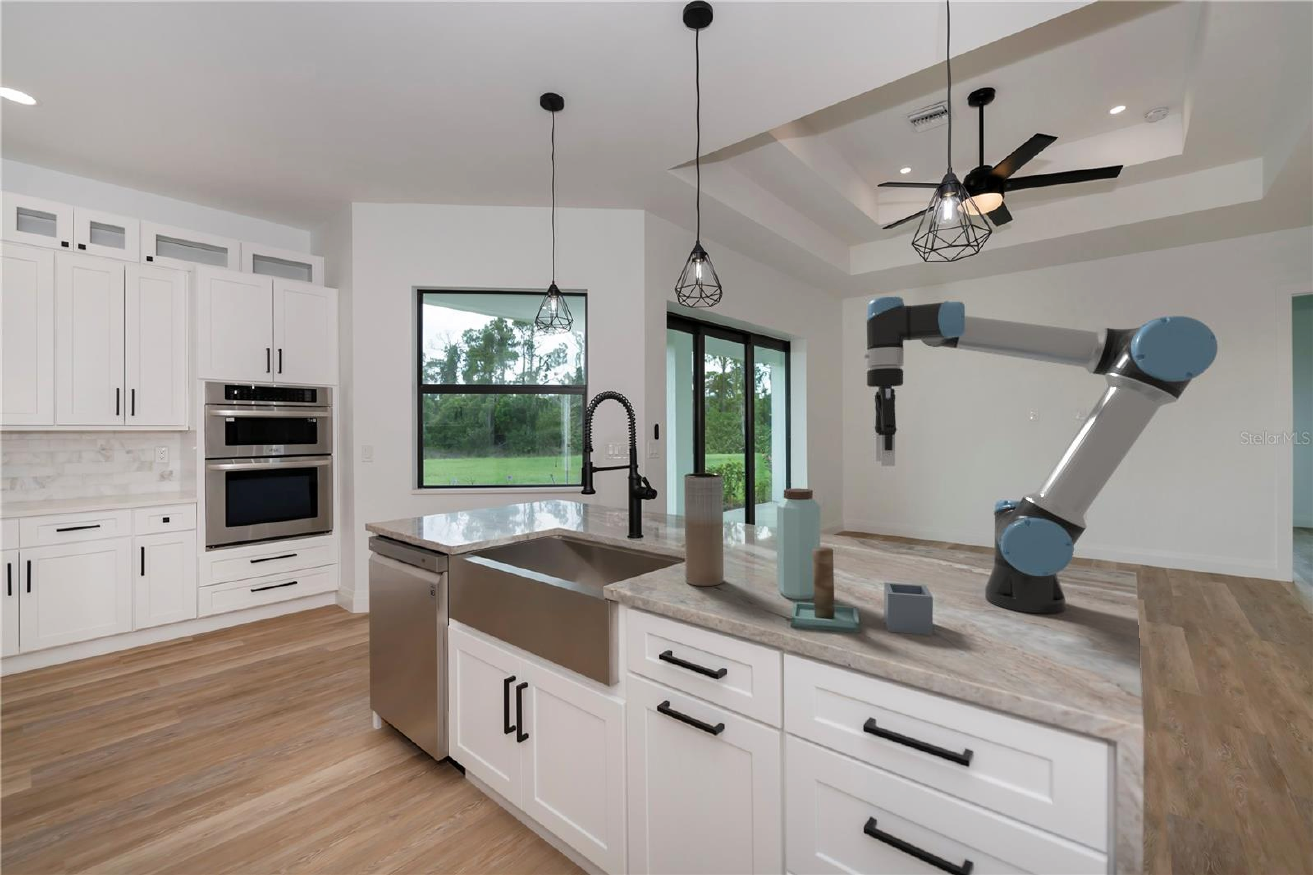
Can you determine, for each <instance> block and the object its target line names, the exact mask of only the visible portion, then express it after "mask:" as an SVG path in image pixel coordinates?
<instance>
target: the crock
mask: <svg viewBox="0 0 1313 875" xmlns="http://www.w3.org/2000/svg"><path fill="white" fill-rule="evenodd" d="M933 599H934V597H933V594H932V593H931V592H930V590H929V588H928V586H927V585H926V584H916V583H902V582H901V583H899V582H886V581H885V582H883V619H884V622H885V625H886V629H887V632H890V633H891V632H893V633H902V634H903V633H905V634H915V635H924V636H925V635H926V636H933V635H934V634H933V631H934V630H933V629H934V626H933V622H934V621H933V620H934V617H933V613H934V611H933V610H934V608H933V607H934V606H933V605H934V604H933V602H934V600H933Z"/></svg>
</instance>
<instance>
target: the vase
mask: <svg viewBox="0 0 1313 875" xmlns="http://www.w3.org/2000/svg"><path fill="white" fill-rule="evenodd" d="M683 478H684V480H683V482H684V483H683V484H684V562H685V564H684V565H685V567H684V570H685V572H684V573H685V574H684V575H685V582H686V583H687V584H689V585H692V586H697V587H714V586H718V585H721V584H723V583H724V572H725V571H724V565H725V564H724V475H723V474H721V473H716V472H715V473H714V472H695V473H693V472H692V473H687V474H684V477H683Z"/></svg>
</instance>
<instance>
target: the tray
mask: <svg viewBox="0 0 1313 875" xmlns="http://www.w3.org/2000/svg"><path fill="white" fill-rule="evenodd" d="M834 611H835V618H834V619H820V618H816V617H815V616H814V602H813V603H812V602H802V601H801V602H800V601H799V602H798V601H793V605H792V609H791V615H790V627H791V628H796V629H807V630H818V631H821V630H822V631H829V632H830V631H831V632H841V633H850V634H860V621H859V620H860V619H859V614H858V608H857V606H849V605H838V604H834Z"/></svg>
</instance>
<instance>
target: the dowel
mask: <svg viewBox="0 0 1313 875" xmlns="http://www.w3.org/2000/svg"><path fill="white" fill-rule="evenodd" d="M834 571H835V570H834V549H833V548H831V547H828V546H827V547H824V546H820V547H817V548H813V574H814V598H813V603H814V616H815V617H816V618H820V619H834V618H835V611H834V605H835V575H834V574H835V573H834Z"/></svg>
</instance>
